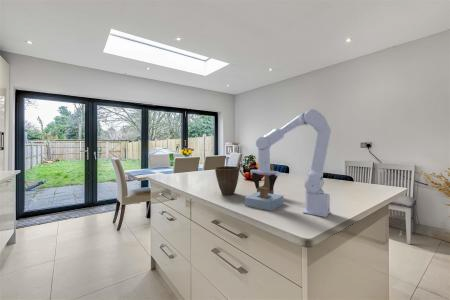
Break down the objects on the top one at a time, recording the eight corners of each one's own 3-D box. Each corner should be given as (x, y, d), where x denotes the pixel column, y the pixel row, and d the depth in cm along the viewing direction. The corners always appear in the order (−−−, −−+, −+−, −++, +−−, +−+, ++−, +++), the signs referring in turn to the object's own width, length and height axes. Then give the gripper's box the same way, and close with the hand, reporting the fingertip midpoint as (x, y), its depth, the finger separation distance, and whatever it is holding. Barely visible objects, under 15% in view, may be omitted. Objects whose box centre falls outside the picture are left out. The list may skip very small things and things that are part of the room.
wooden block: (256, 195, 119) (256, 164, 119) (258, 193, 124) (258, 163, 123) (272, 196, 116) (271, 165, 115) (273, 194, 120) (273, 164, 119)
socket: (283, 203, 103) (283, 195, 102) (271, 210, 91) (271, 202, 91) (258, 199, 111) (258, 191, 111) (244, 205, 100) (244, 197, 100)
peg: (269, 204, 102) (269, 188, 101) (266, 206, 98) (266, 189, 98) (261, 203, 104) (261, 187, 104) (258, 205, 100) (258, 188, 100)
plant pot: (214, 197, 117) (213, 169, 116) (216, 191, 132) (215, 166, 131) (240, 197, 116) (240, 169, 116) (239, 190, 131) (239, 166, 131)
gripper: (247, 161, 102) (247, 188, 102) (274, 163, 93) (274, 192, 93) (254, 160, 108) (254, 186, 108) (280, 161, 99) (280, 189, 99)
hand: (264, 189), depth 101 cm, fingers open, 7 cm apart
